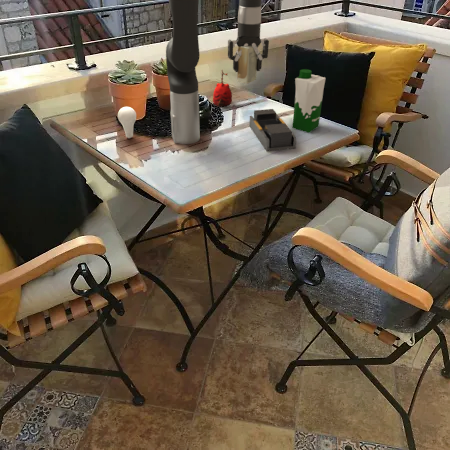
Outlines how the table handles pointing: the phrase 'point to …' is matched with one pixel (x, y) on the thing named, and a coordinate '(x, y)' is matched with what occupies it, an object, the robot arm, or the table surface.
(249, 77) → the skincare box
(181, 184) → the table surface
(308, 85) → the milk carton
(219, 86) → the red clay folk toy
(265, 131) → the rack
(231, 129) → the table surface
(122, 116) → the lightbulb
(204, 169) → the table surface
